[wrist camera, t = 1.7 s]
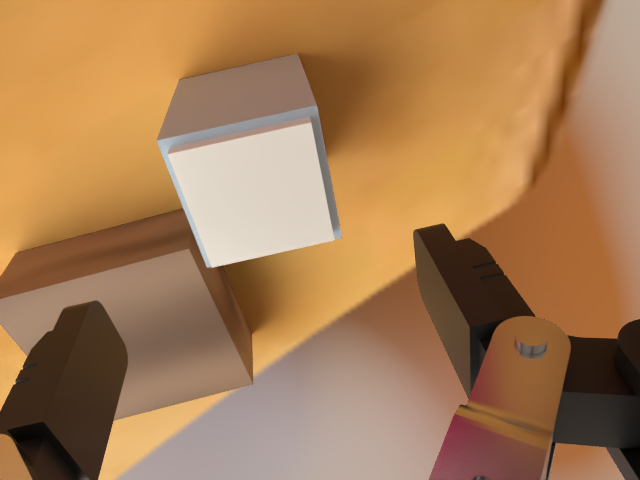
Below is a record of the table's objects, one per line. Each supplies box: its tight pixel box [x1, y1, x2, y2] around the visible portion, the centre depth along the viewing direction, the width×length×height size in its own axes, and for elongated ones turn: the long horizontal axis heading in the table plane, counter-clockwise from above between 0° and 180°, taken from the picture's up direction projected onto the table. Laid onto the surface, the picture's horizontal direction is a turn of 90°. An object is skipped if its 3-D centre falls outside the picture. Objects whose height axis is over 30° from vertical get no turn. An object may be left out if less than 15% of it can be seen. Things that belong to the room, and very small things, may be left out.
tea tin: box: [157, 54, 342, 268], centre depth 19 cm, size 5×5×7 cm
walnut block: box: [0, 209, 253, 421], centre depth 25 cm, size 9×9×4 cm
